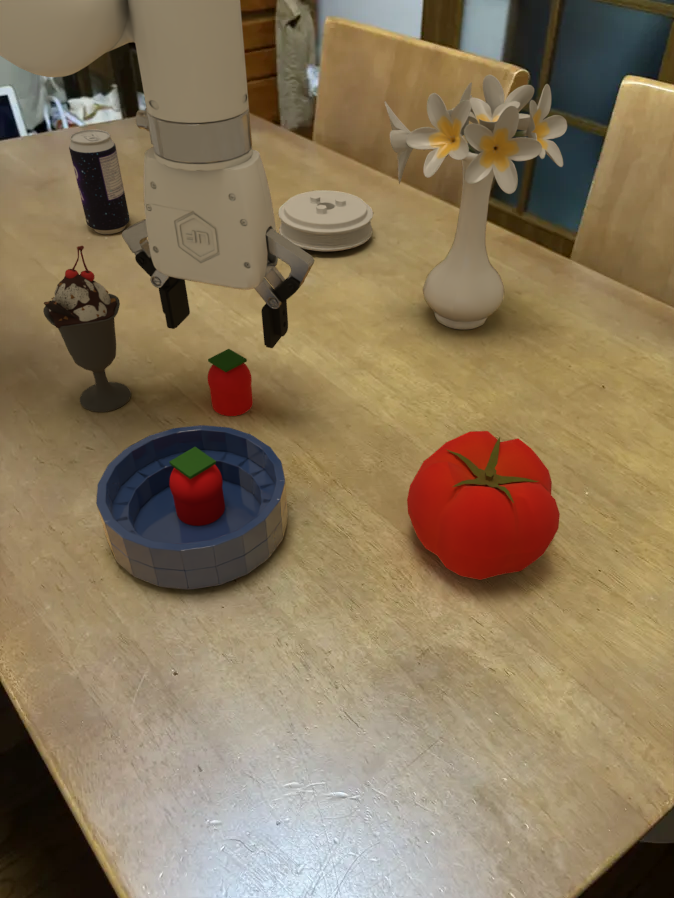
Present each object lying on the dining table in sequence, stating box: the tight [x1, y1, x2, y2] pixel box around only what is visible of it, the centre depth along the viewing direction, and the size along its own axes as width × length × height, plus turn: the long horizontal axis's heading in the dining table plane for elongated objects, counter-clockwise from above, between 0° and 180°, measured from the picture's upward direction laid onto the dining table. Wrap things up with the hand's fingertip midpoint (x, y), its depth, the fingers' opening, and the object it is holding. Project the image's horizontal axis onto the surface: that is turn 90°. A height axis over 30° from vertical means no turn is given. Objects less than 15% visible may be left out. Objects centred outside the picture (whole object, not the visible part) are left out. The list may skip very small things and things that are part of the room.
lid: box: [277, 189, 374, 252], centre depth 101 cm, size 13×13×5 cm
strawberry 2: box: [207, 348, 254, 417], centre depth 73 cm, size 4×4×5 cm
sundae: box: [43, 245, 132, 413], centre depth 70 cm, size 7×7×15 cm
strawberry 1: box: [169, 447, 225, 526], centre depth 61 cm, size 4×4×5 cm
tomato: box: [406, 430, 561, 581], centre depth 59 cm, size 11×12×9 cm
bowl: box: [95, 424, 289, 591], centre depth 61 cm, size 14×14×5 cm
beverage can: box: [68, 128, 131, 235], centre depth 99 cm, size 6×6×12 cm
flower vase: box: [384, 74, 568, 331], centre depth 80 cm, size 13×18×25 cm
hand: (226, 330), depth 69 cm, fingers open, 9 cm apart
